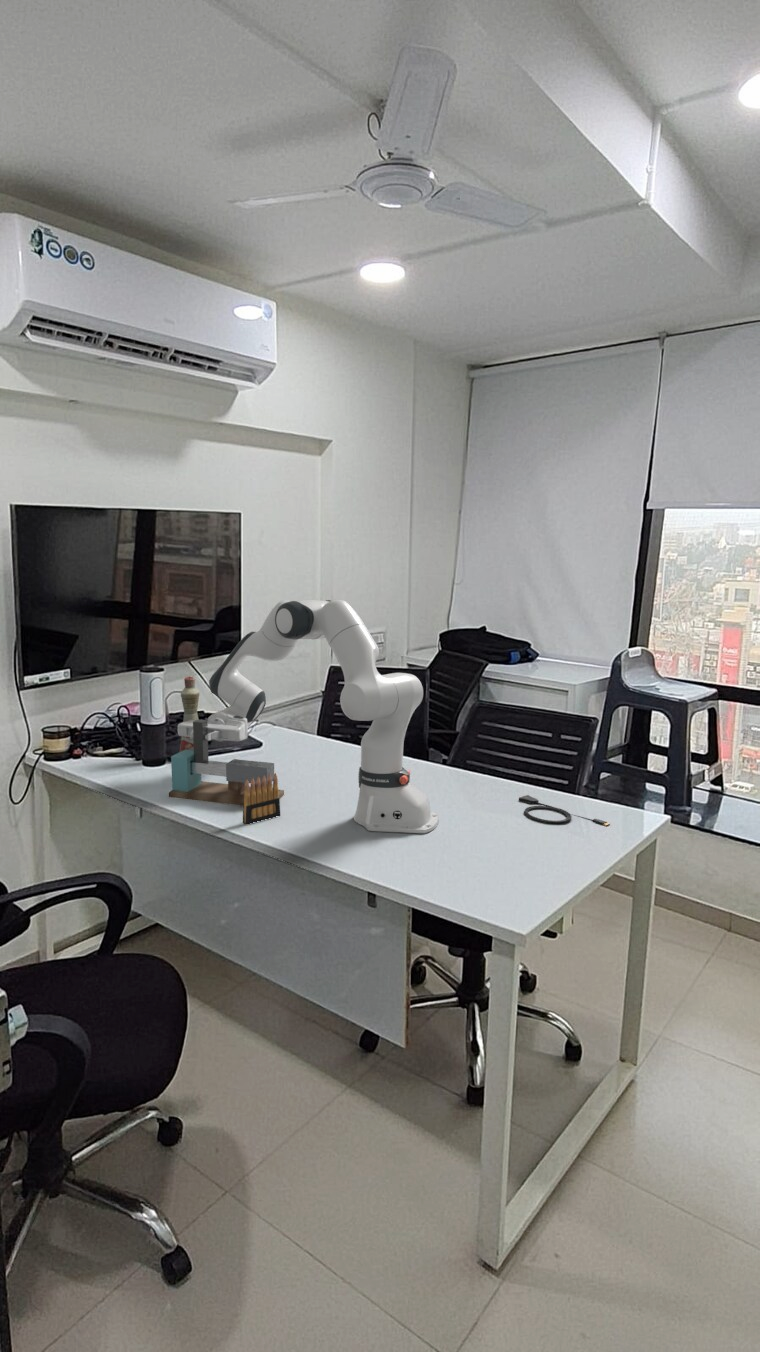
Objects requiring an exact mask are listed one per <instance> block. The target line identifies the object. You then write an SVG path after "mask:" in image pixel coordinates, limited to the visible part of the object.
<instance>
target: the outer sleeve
mask: <svg viewBox="0 0 760 1352" xmlns="http://www.w3.org/2000/svg"><path fill="white" fill-rule="evenodd" d="M269 774H270V775H271V778H272V782H273V778H274V774H275V762H267V761H256V760H248V759H236V758H235V759H234V758H233V759H232V760H230V761H229V762H228V763H227V764H226V777H225V779H226V782H228V781H233V782H242V783H245V782H246V779H247V780H248V782H249V784H251V780H252V778H253V779H254V782H255V784H256V782H257V778H258V777H259V778H260V783H261V785H262V779H263V776H265V778H266V785H268V776H269Z"/></svg>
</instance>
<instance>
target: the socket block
mask: <svg viewBox="0 0 760 1352" xmlns="http://www.w3.org/2000/svg"><path fill="white" fill-rule="evenodd" d="M193 759H194V750H186V749H185V750H183V751H181V752H180V751H179V752H177V753H175V754H173V755H171V756H170V761H171V762H170V764H171V765H170V766H171V790H176V791H185V792H188V791H190V790H192V789H193V788H195V787H197V786H198V785H200V784H201V781H202V774H196V773H191V769H190V761H191V760H193Z"/></svg>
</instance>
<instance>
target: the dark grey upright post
mask: <svg viewBox="0 0 760 1352" xmlns="http://www.w3.org/2000/svg"><path fill="white" fill-rule="evenodd" d="M206 733H208V722H207V719H199V720H196V721H194V722H193V745H194V759H193V760H191V761H190V769H191V773H196V774H201V775H207V776H208V775H209V776H216V777H225V778H226V764H227V763H228V762H226V761H217V760H216V761H215V760H209V741H208V740H204V734H206Z"/></svg>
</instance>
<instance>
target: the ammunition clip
mask: <svg viewBox="0 0 760 1352" xmlns="http://www.w3.org/2000/svg"><path fill="white" fill-rule="evenodd" d="M278 784H279V781H278V775H277V773H276V772H274V778H273V781H272V778H271V775H270V774H269V776H268V785H267V786H266V778H265V776H263V779H262V789H261V783H260V778H259V777H258V778H257V782H256V792H255V782H254V779H253V778H252V780H251V783H249V782H248V780H247V779H246V782H245V793H244V804H243V806H242V823H243V824H244V825H246V824H249V825H251V824H250V823H252V824H254V823H253V822H256V823H258V822H257V821H260V822H262V821H261V820H264V821H266V820H265V819H267V820H270V819H269V818H271V819H274V818H273V817H275V818H277V817H276V816H279V817H281V803H280V802H281V801H280V799H281V798H279V790H280V789H279V785H278ZM249 786H250V787H251V788H250V790H249Z"/></svg>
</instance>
